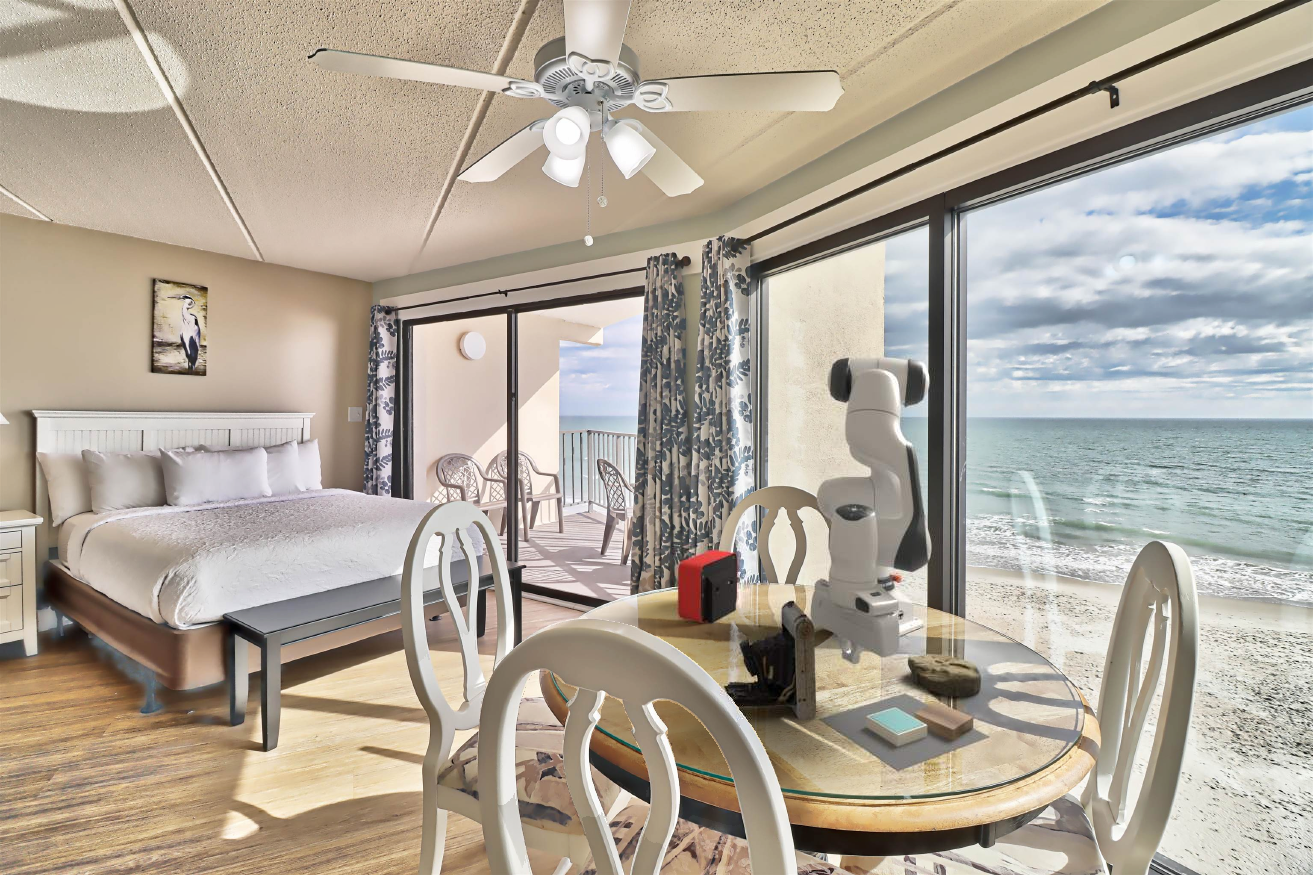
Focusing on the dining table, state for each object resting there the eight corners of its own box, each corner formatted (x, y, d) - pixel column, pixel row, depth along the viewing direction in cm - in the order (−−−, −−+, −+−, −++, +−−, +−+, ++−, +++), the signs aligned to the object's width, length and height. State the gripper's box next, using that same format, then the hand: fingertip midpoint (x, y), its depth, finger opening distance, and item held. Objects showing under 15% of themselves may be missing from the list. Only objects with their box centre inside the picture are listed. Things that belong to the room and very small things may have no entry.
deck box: (895, 706, 113) (927, 724, 107) (894, 718, 113) (927, 736, 107) (866, 715, 110) (898, 734, 104) (866, 727, 110) (897, 746, 104)
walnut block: (935, 712, 115) (935, 701, 115) (973, 728, 110) (973, 717, 110) (914, 724, 111) (914, 713, 111) (952, 740, 106) (953, 729, 106)
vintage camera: (723, 703, 121) (720, 603, 120) (800, 697, 122) (799, 598, 121) (733, 730, 112) (730, 622, 110) (817, 723, 113) (815, 616, 111)
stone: (958, 707, 119) (959, 680, 119) (897, 681, 130) (898, 656, 130) (994, 690, 126) (995, 664, 126) (933, 666, 137) (934, 643, 137)
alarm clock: (743, 607, 177) (744, 552, 176) (707, 628, 161) (707, 567, 160) (714, 601, 183) (714, 548, 182) (676, 620, 166) (676, 562, 166)
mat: (905, 696, 123) (905, 693, 123) (989, 740, 107) (989, 736, 107) (818, 721, 113) (818, 718, 113) (897, 774, 97) (897, 770, 97)
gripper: (803, 578, 127) (802, 643, 128) (880, 610, 108) (878, 686, 110) (827, 573, 130) (826, 638, 131) (906, 604, 111) (904, 679, 112)
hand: (850, 660), depth 120 cm, fingers closed
